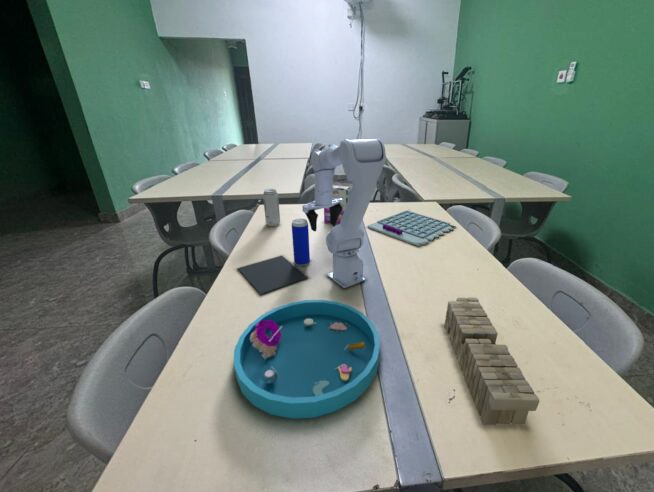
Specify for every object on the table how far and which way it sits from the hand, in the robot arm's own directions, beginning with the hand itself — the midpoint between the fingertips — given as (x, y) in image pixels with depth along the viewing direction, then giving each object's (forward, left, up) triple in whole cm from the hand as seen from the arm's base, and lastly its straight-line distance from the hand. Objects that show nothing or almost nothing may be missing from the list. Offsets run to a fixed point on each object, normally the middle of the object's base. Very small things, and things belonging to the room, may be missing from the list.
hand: (323, 227), depth 107 cm
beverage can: (0, +9, -11) cm, 14 cm away
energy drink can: (+38, +2, -11) cm, 39 cm away
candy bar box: (+24, -22, -11) cm, 34 cm away
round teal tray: (-38, +28, -11) cm, 49 cm away
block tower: (-63, +2, -11) cm, 64 cm away
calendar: (0, -45, -11) cm, 47 cm away
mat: (-1, +20, -11) cm, 23 cm away
